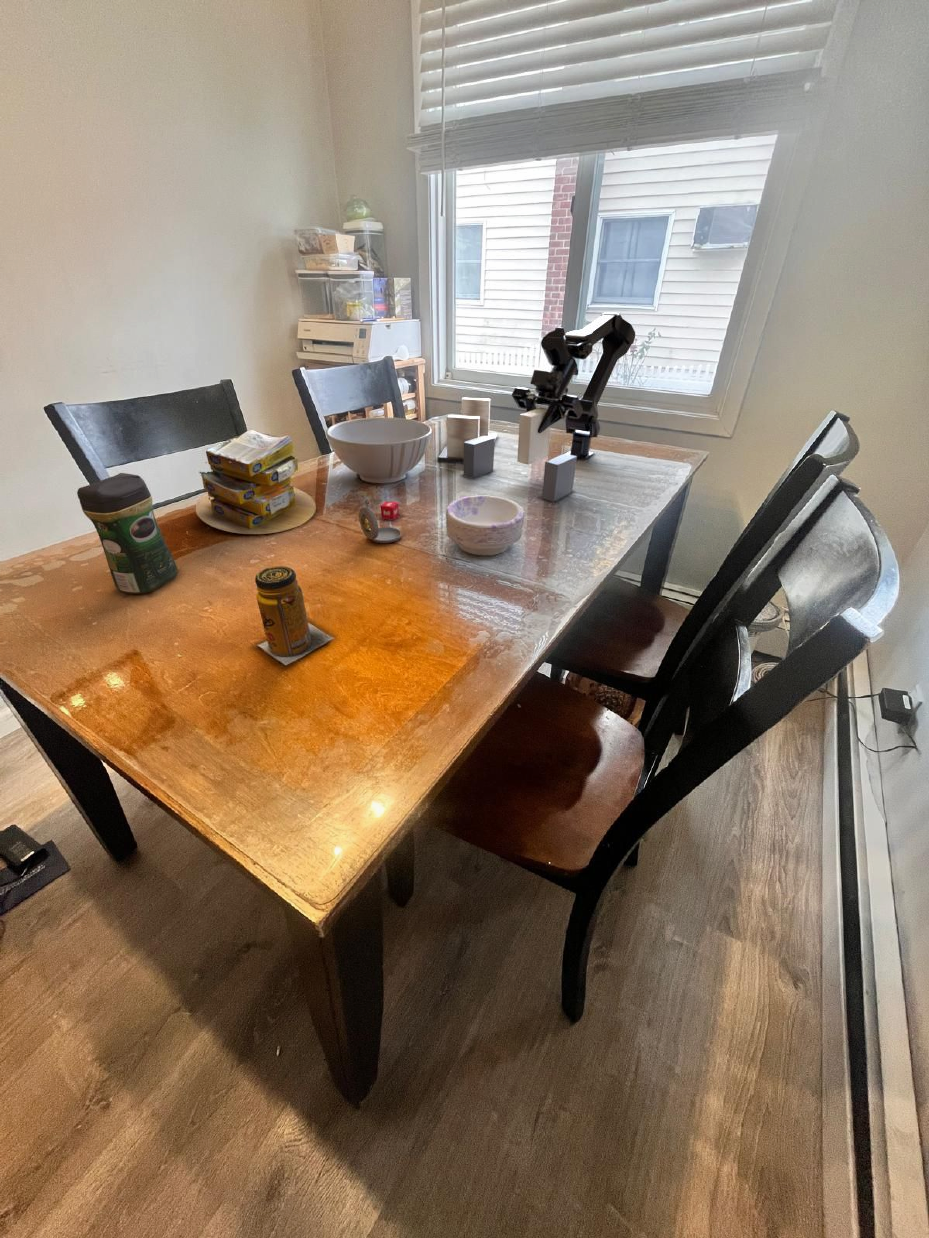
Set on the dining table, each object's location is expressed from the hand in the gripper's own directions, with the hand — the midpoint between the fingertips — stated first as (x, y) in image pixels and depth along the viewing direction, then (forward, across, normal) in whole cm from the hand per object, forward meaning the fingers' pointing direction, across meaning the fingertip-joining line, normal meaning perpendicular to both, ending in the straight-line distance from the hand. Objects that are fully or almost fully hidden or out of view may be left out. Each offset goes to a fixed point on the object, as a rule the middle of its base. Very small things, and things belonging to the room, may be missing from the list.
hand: (532, 431), depth 132 cm
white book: (+4, 0, +6) cm, 8 cm away
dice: (+39, -9, -22) cm, 45 cm away
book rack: (+1, -29, +17) cm, 34 cm away
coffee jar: (+73, -20, -56) cm, 94 cm away
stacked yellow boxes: (+52, -32, -35) cm, 70 cm away
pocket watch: (+46, -2, -28) cm, 54 cm away
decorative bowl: (+26, -30, -9) cm, 41 cm away
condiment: (+68, +15, -52) cm, 87 cm away
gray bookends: (+13, 0, +4) cm, 14 cm away
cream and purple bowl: (+37, +16, -20) cm, 45 cm away
